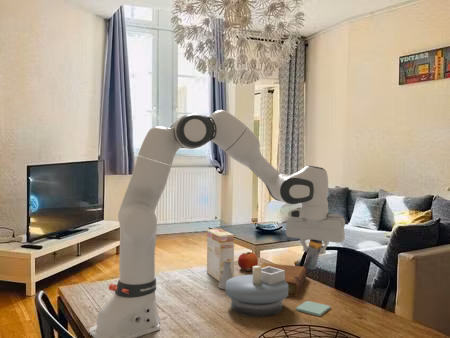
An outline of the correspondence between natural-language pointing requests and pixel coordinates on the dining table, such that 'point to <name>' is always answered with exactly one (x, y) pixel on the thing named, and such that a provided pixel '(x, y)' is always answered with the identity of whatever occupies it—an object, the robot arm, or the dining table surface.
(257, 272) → the dial
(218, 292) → the dining table surface
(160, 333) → the dining table surface
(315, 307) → the mat
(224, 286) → the flask
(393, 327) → the dining table surface
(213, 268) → the coffeecake box
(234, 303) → the base
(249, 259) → the tomato
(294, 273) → the diary
